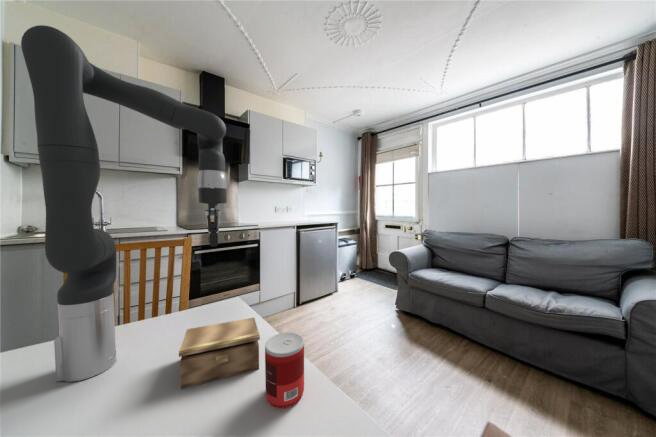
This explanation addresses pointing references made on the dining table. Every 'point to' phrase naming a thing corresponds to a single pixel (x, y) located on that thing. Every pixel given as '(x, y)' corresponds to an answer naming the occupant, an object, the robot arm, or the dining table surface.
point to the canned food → (284, 369)
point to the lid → (219, 336)
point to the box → (219, 363)
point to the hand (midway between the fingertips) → (214, 245)
